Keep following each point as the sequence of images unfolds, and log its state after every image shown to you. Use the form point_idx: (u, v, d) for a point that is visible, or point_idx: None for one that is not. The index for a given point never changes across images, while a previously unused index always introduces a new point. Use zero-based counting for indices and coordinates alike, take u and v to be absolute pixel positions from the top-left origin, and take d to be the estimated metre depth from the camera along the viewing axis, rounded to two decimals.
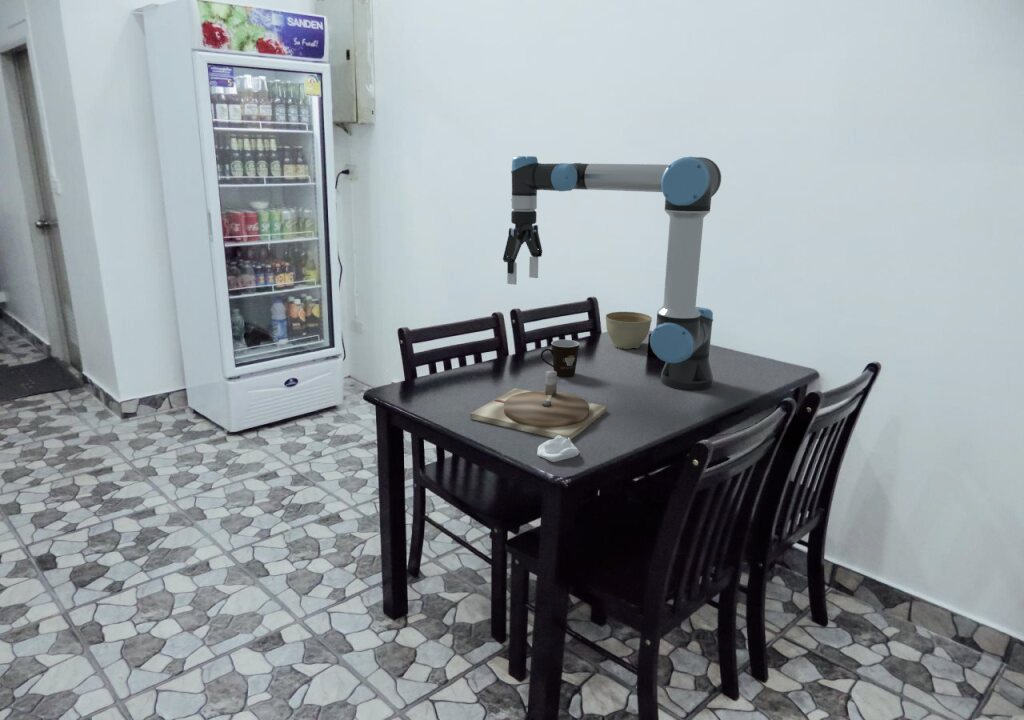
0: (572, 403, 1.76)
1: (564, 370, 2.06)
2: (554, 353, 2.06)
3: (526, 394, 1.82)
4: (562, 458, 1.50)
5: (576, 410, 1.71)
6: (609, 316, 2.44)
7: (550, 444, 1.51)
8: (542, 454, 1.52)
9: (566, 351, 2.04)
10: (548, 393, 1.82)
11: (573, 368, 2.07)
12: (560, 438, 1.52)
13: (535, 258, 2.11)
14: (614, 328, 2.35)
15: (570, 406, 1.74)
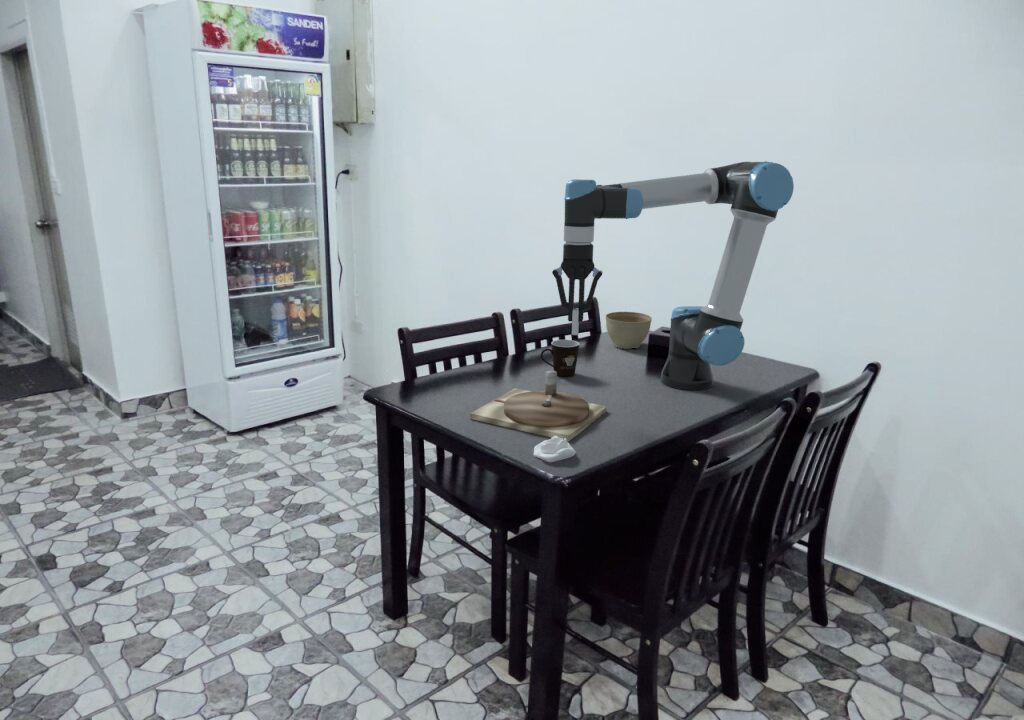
0: (572, 403, 1.76)
1: (564, 370, 2.06)
2: (554, 353, 2.06)
3: (526, 394, 1.82)
4: (558, 458, 1.50)
5: (576, 410, 1.71)
6: (609, 316, 2.44)
7: (546, 444, 1.51)
8: (538, 454, 1.52)
9: (566, 351, 2.04)
10: (548, 393, 1.82)
11: (573, 368, 2.07)
12: (556, 438, 1.52)
13: None
14: (614, 328, 2.35)
15: (570, 406, 1.74)
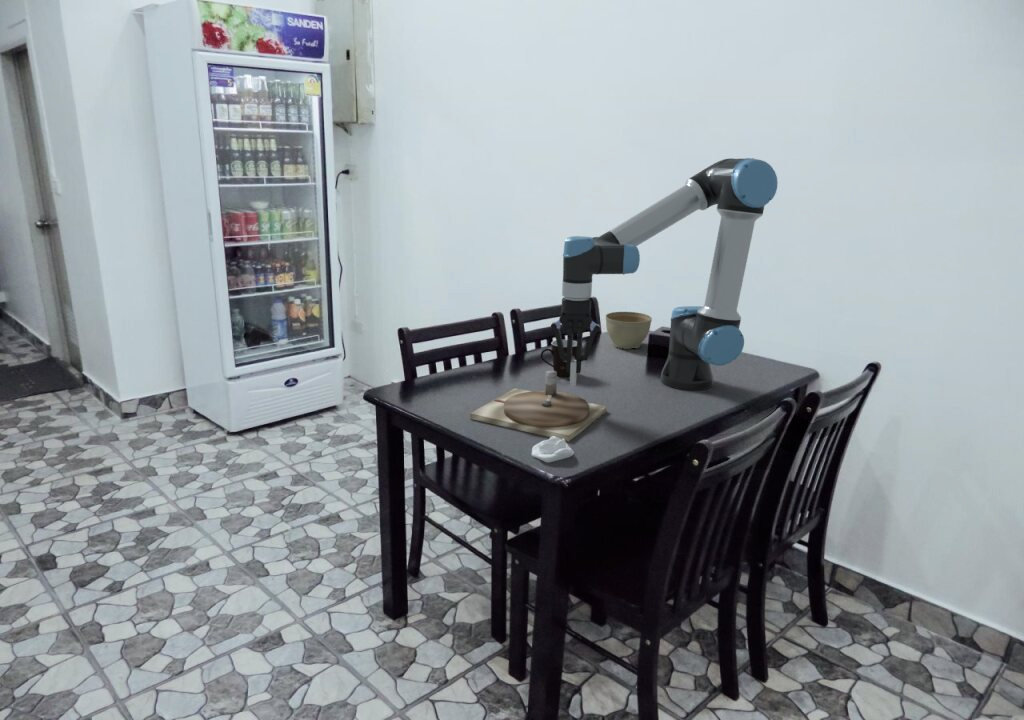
0: (572, 403, 1.76)
1: (564, 370, 2.06)
2: (554, 353, 2.06)
3: (526, 394, 1.82)
4: (556, 459, 1.50)
5: (576, 410, 1.71)
6: (609, 316, 2.44)
7: (544, 445, 1.51)
8: (536, 455, 1.51)
9: (566, 351, 2.04)
10: (548, 393, 1.82)
11: None
12: (554, 439, 1.52)
13: None
14: (614, 328, 2.35)
15: (570, 406, 1.74)
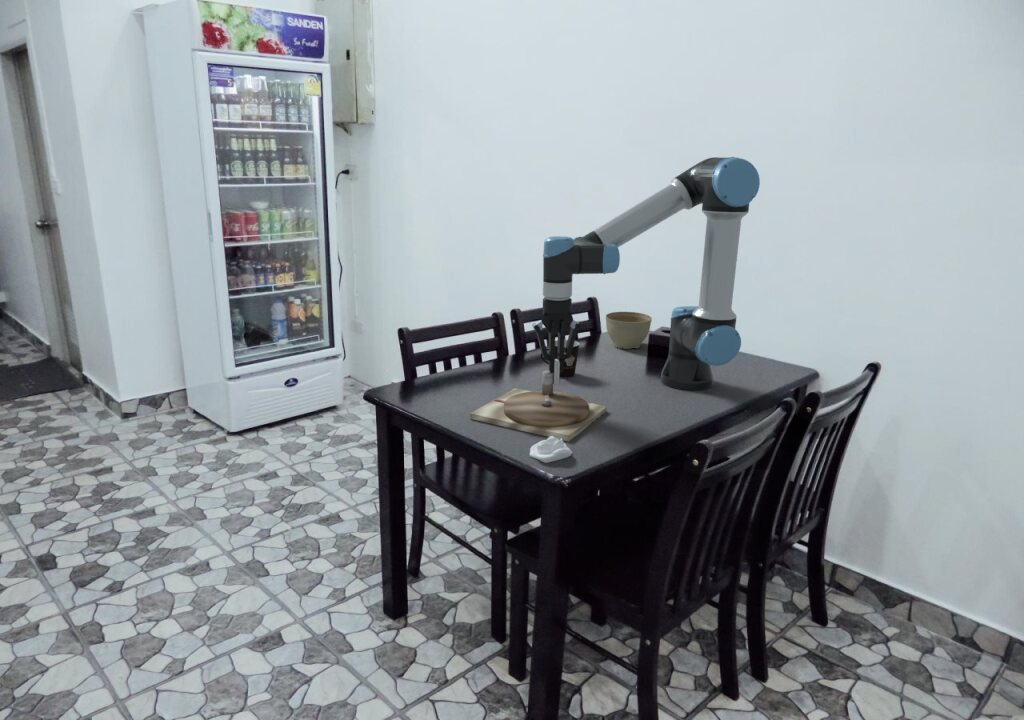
0: (571, 402, 1.77)
1: (564, 370, 2.06)
2: None
3: (523, 395, 1.82)
4: (555, 459, 1.50)
5: (577, 409, 1.72)
6: (609, 316, 2.44)
7: (542, 445, 1.51)
8: (534, 455, 1.51)
9: None
10: (545, 393, 1.82)
11: (573, 368, 2.07)
12: (553, 439, 1.52)
13: None
14: (614, 328, 2.35)
15: (570, 405, 1.74)
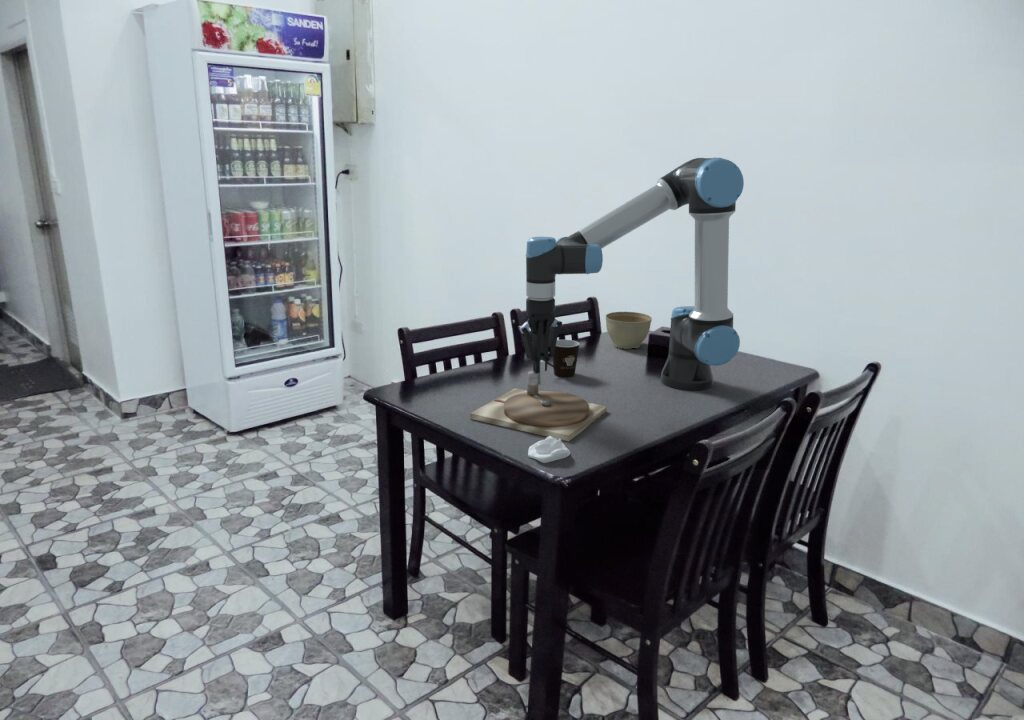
0: (564, 398, 1.79)
1: (564, 370, 2.06)
2: (554, 353, 2.06)
3: (514, 399, 1.79)
4: (553, 459, 1.50)
5: (577, 404, 1.76)
6: (609, 316, 2.44)
7: (541, 445, 1.51)
8: (533, 455, 1.51)
9: (566, 351, 2.04)
10: (533, 394, 1.81)
11: (573, 368, 2.07)
12: (551, 439, 1.52)
13: None
14: (614, 328, 2.35)
15: (567, 402, 1.77)
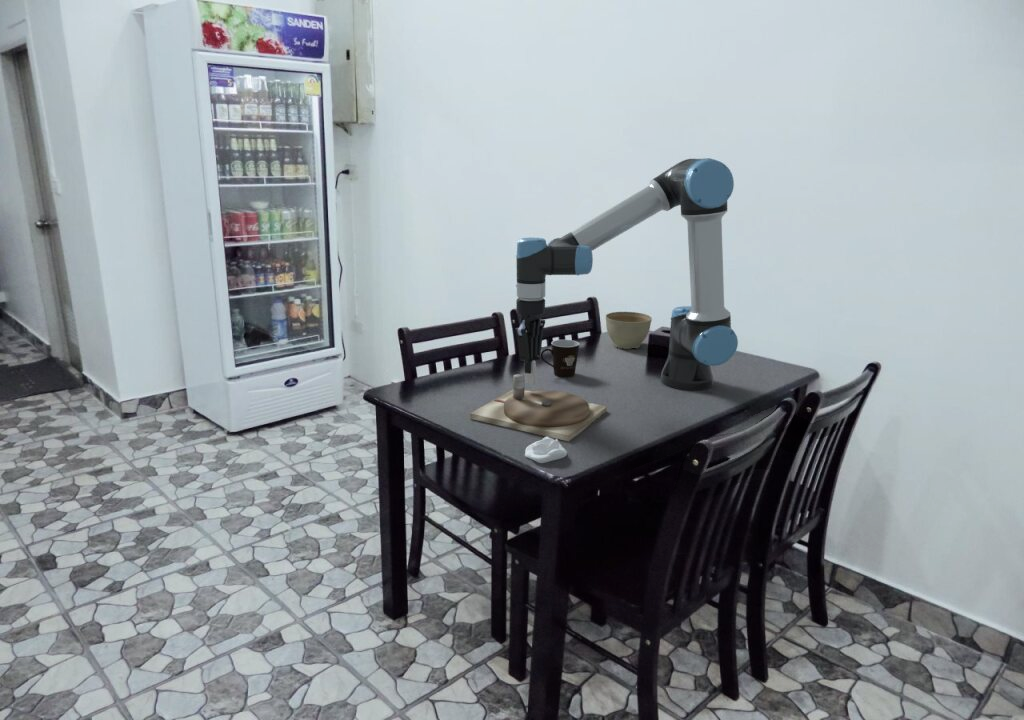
0: (552, 396, 1.81)
1: (564, 370, 2.06)
2: (554, 353, 2.06)
3: (510, 405, 1.74)
4: (550, 459, 1.50)
5: (570, 398, 1.80)
6: (609, 316, 2.44)
7: (538, 445, 1.51)
8: (530, 455, 1.51)
9: (566, 351, 2.04)
10: (521, 397, 1.79)
11: (573, 368, 2.07)
12: (548, 439, 1.51)
13: None
14: (614, 328, 2.35)
15: (559, 398, 1.79)
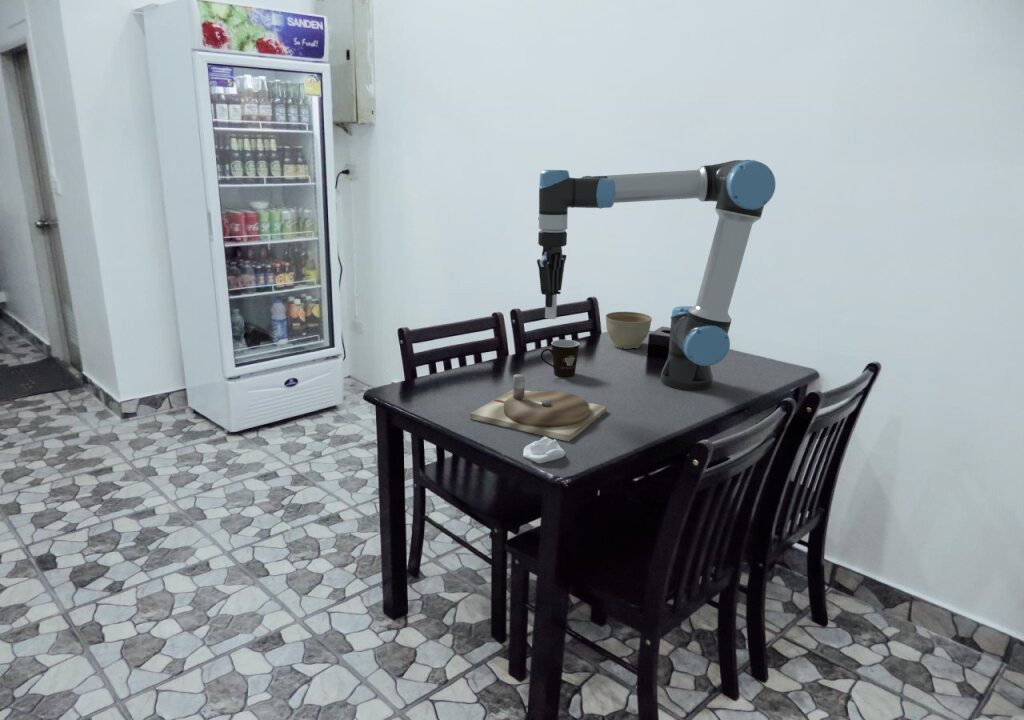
0: (552, 396, 1.81)
1: (564, 370, 2.06)
2: (554, 353, 2.06)
3: (510, 405, 1.74)
4: (548, 459, 1.50)
5: (570, 398, 1.80)
6: (609, 316, 2.44)
7: (536, 445, 1.50)
8: (528, 455, 1.51)
9: (566, 351, 2.04)
10: (521, 397, 1.79)
11: (573, 368, 2.07)
12: (546, 439, 1.51)
13: None
14: (614, 328, 2.35)
15: (559, 398, 1.79)
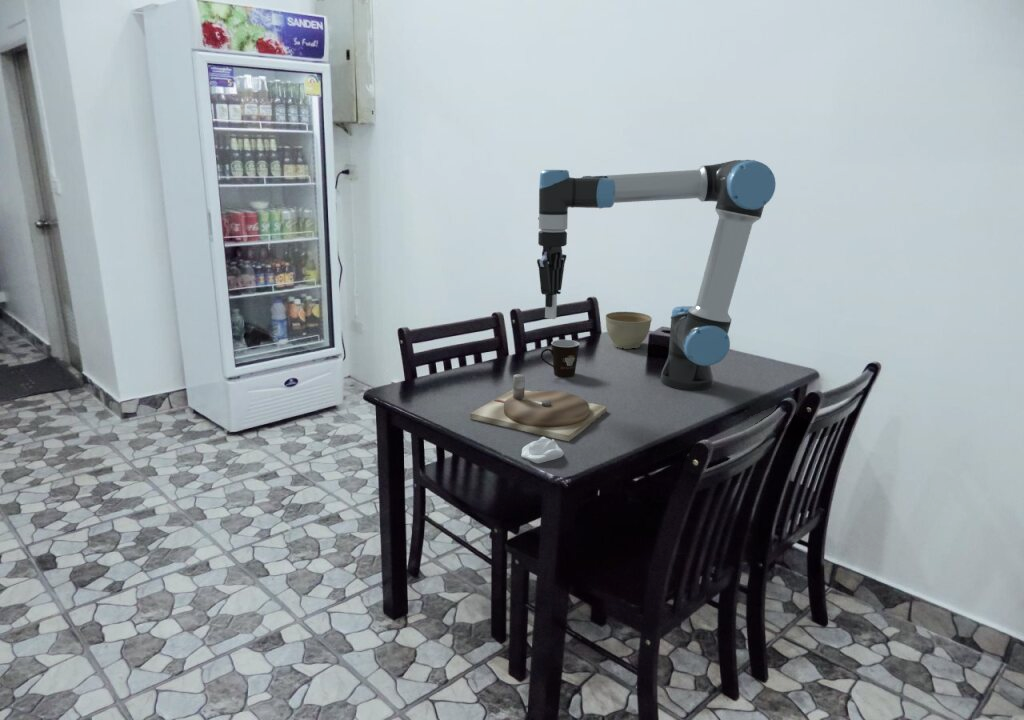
0: (552, 396, 1.81)
1: (564, 370, 2.06)
2: (554, 353, 2.06)
3: (510, 405, 1.74)
4: (546, 460, 1.50)
5: (570, 398, 1.80)
6: (609, 316, 2.44)
7: (534, 445, 1.50)
8: (526, 455, 1.51)
9: (566, 351, 2.04)
10: (521, 397, 1.79)
11: (573, 368, 2.07)
12: (544, 439, 1.51)
13: None
14: (614, 328, 2.35)
15: (559, 398, 1.79)
